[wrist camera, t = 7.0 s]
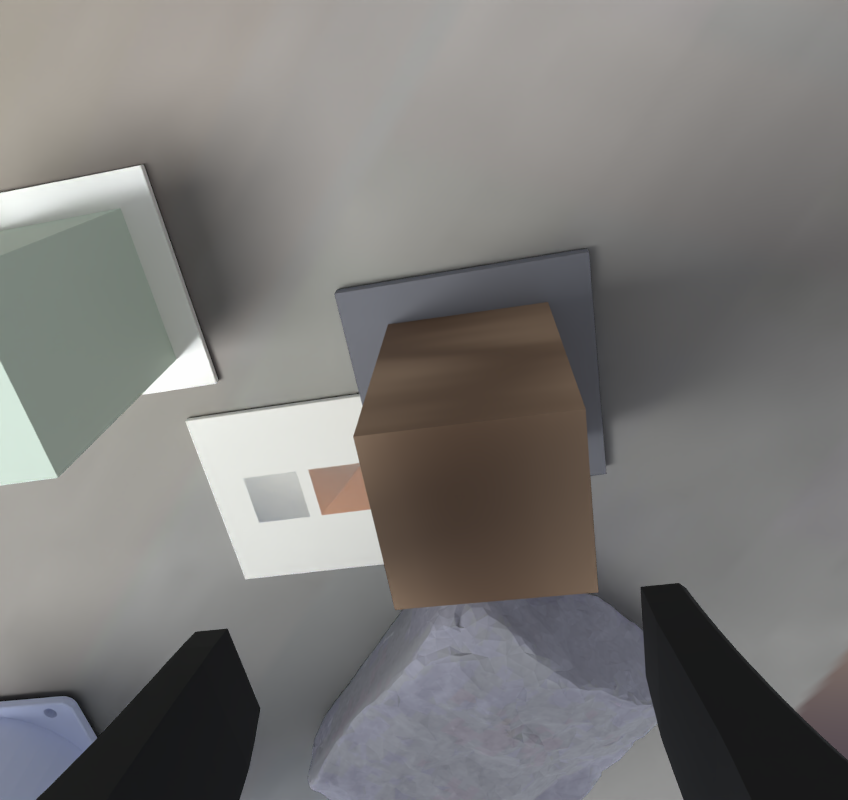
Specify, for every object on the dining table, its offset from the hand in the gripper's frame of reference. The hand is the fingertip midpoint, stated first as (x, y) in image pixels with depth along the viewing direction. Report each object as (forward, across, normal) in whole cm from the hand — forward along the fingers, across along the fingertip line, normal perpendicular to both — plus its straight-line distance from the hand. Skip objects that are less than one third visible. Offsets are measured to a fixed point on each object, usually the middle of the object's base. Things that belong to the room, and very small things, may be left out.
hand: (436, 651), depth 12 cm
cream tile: (+10, +5, +2) cm, 11 cm away
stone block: (+10, 0, +12) cm, 16 cm away
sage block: (+10, +10, -5) cm, 15 cm away
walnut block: (+9, -1, -1) cm, 9 cm away
